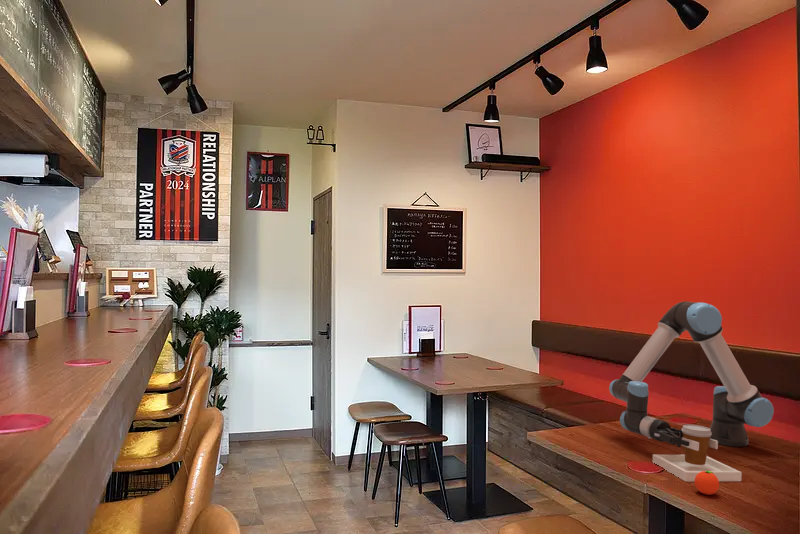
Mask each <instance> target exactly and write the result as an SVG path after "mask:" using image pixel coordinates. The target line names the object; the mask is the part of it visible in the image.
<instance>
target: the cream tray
mask: <svg viewBox="0 0 800 534" xmlns="http://www.w3.org/2000/svg"><path fill="white" fill-rule="evenodd" d="M651 462H653V463H652V464H654V463H655V464H657V465H659V466H661V467H663V468H664V469H665V470H664V469H663V470H664V471H666V470H667V471H666V472H668V473H670V474H671V473H672V474H671V475H673V474H674V477H676V478H678V477H679V478H678V479H680V480H682V481H684V482H687V483H689V482H690V483H691V482H692V483H695V477H696V475H697V474H698V473H700V472H702V471H711V472H713V474H714V475H715V476H716V477H717V478H718V480H719V482H742V471H740V470H737V469H736V468H734V467H732V466H729V465H727V464H724V463H723V462H721V461H718V460H716V459H714V458H712V457H710V456H708V455H707V457H706V462H705V465H694V464H690V463H687V462H686V461H685V454H652V461H651ZM655 464H654V465H655ZM657 465H656V466H657ZM659 466H658V467H659ZM661 467H660V468H661Z"/></svg>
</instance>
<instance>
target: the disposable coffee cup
mask: <svg viewBox="0 0 800 534" xmlns="http://www.w3.org/2000/svg"><path fill="white" fill-rule="evenodd" d="M680 429H681V430H682V432H683V438H686V439H689V440H693V441H696V442H699V451H696V450H693V449H690V448H687V447H684V446H683V450H684V455H685V461H686V462H687V463H690V464H694V465H705V462H706V457H707V456H708V450H709V447H708V446H709V440H710V436H711V435H712V433H711V430H710V427H706V426H703V425H697V424H684V425H682V428H680Z"/></svg>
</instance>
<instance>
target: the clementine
mask: <svg viewBox="0 0 800 534" xmlns="http://www.w3.org/2000/svg"><path fill="white" fill-rule="evenodd" d="M694 486H695V488H696V489H697V491H698V492H699V493H701V494H703V495H707V496H711V495H714V494H715V493H717V492H718V490H719V489H720V481H719V480H718V478H717V477H716V476H715V475H714V474H713V472H711V471H702V472H700V473H698V474H697V475H696V477H695V482H694Z"/></svg>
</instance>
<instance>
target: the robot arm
mask: <svg viewBox="0 0 800 534" xmlns="http://www.w3.org/2000/svg"><path fill="white" fill-rule="evenodd" d="M722 322H723V316H722V314H721V312H720V311H719V309H718V308H717V307H716V306H714V305H712V304H710V303H706V302H694V301H686V300H685V301H680V302H678V303H675V304H674V305H673V306H672V307H670V308H669V309H668V311H667V312H665V314H663V316H662V317H661V319H660V320H659V321H658V322H657V328H656V329H655V331H654V332H653V333H652V335H651V336H650V337H649V339H648V340H647V341H646V343H645V344H644V345H643V347H642V348H641V349H640V351H639V352H638V354H637V355H636V356H635V358H634V359H633V360H632V361H631V363H630V364H629V366H628V367H627V368H626V369H625V371H624V372H623V373H622V375H621V376H620V377H619V379H614V380H612V381H611V382H610V383H609V387H608V389H609V393H610V395H611V396H612V397H614V398H616V399H617V400H620V401H623V403H624V402H625V403H626V410H624V411H622V413H621V415H620V417H619V423H620V426H621V427H622V429H624V430H627V431H629V432H630V433H635V434H637V435H641V436H644V437H647V439H648V440H650V439H652V440H655V441H658V442H662V443H663V442H665V443H668V444H670V445H672V446H675V445H676V447H677V448H681V446H682V447H683V448H684V447H687V448H690V449H693V450H696V451H699V442H696V441H693V440H689V439H686V438H683V432H682V430H681V429H682V428H680V429H679V428H678V429H677V428H675V427H671V425H670V424H669V422H667V421H665V420H662V419H658V418H656V417H654V416H653V417H652V416H648V406H649V385H648V383H647V382H644V379H645V378H646V377H647V375H648V374H649V373H650V372H651V370H652V369H653V367H654V366H655V365H656V364H657V363H658V361H659V359H660V358H661V357H662V355H663V354H664V353H665V352H666V351H667V350H668V348H669V347H670V346H671V344H672V343H673V341H674V340H675V339H677V338H680V336H681V335H682V334H683V333H684V332H688V334H689V336H690V337H691V339H692V341H693V342H694V343H698V344H700V347H701V348H702V351H703V352H704V354H705V356H706V357H707V359H708V361H709V362H710V364H711V366H712V367H713V369H714V371H715V372H716V374H717V376H718V377H719V379H720V382H721V383H722V385H721V386H720V385H717V386H715V387H714V388H713V393H712V394H713V395H712V422H711V425H710V427H709V429H710V430H711V433H712V435H711V436H710V440H709V446H708V448H712V449H714V450H718V448H719V445H722V446H726V447H727V446H728V447H738V448H739V447H740V448H743V447H748V446H749V437H748V433H747V431H746V428H745V424H746V425H748V426H751V427H755V428H762V427H765V426H766V425H768V424H769V423H770V422H771V420H772V419H773V416H774V413H775V412H774V411H775V409H774V405H773V404H772V402H771V401H770V399H768V398H765V397H763V396H762V394H761V393H760V391H759V389H758V388H757V386H756V385H753V384H751V383H750V382H749V380H748V379H747V376H746V375H745V373H744V372H743V369H742V368H741V366H740V365H739V363H738V360H736V358H735V356H734V354H733V353H732V351H731V349H730V347H729V346H728V344H727V342H726V340H725V338H724V337H723V335H722V333H723V330H724V329H723V327H722ZM747 445H748V446H747Z"/></svg>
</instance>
